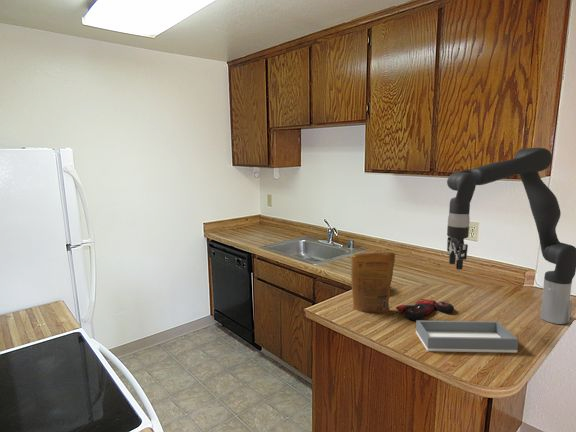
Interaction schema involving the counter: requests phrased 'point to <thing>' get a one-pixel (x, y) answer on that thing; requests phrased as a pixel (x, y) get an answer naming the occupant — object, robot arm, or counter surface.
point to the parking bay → (466, 336)
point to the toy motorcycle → (424, 308)
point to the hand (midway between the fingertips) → (455, 266)
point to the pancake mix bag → (372, 281)
